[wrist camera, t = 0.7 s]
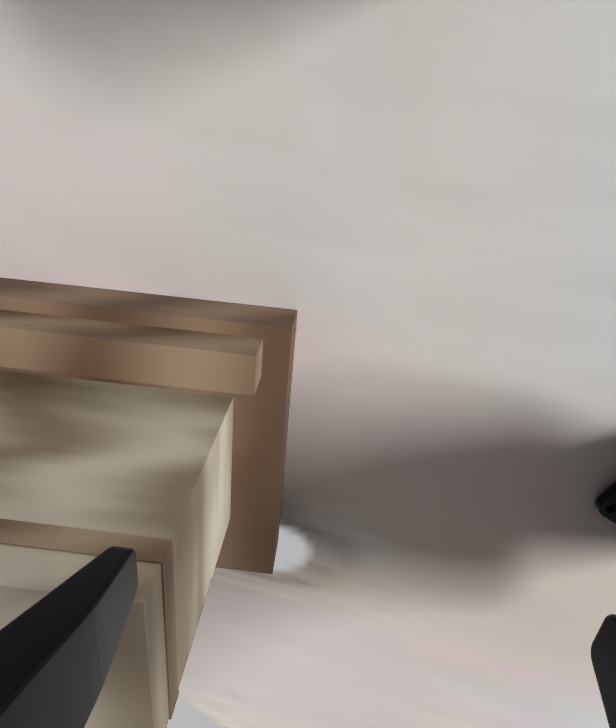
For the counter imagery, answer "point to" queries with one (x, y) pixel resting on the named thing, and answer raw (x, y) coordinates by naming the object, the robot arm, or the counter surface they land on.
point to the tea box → (116, 516)
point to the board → (174, 376)
